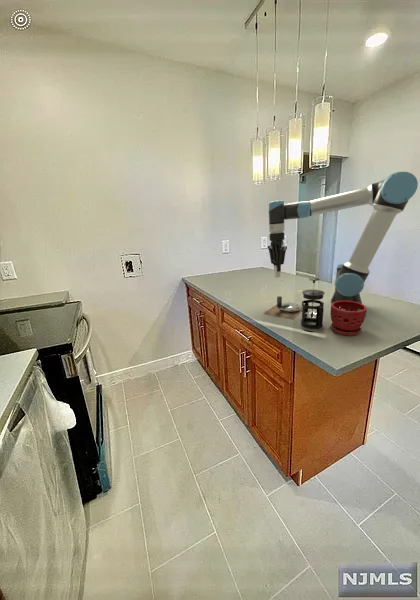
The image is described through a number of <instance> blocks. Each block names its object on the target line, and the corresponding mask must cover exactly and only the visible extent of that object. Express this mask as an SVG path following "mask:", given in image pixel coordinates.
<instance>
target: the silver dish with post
mask: <svg viewBox="0 0 420 600" xmlns="http://www.w3.org/2000/svg"><path fill="white" fill-rule="evenodd" d="M282 302H283V297H282V296H279V295H278V296H277V297H276V304H277V308H278V309H280V310H281V311H283V312H287V313H295V312H298V311H299V310H300V307H301V306H300V305H299V304H298V303H294V302H284V303H282Z"/></svg>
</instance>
